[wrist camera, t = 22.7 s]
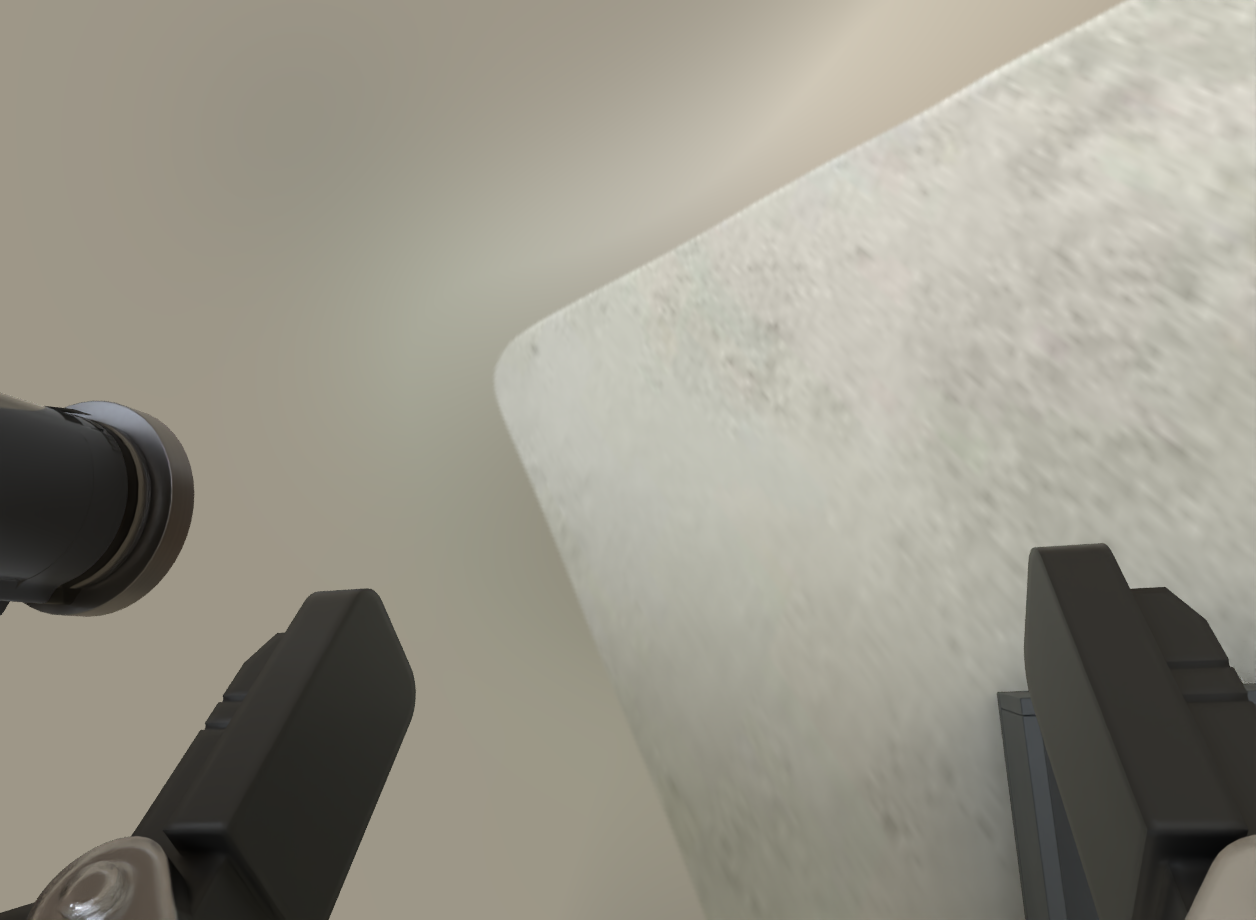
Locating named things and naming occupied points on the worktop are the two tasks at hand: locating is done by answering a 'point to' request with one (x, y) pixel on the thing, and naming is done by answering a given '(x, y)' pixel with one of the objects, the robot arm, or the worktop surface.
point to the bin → (1043, 819)
